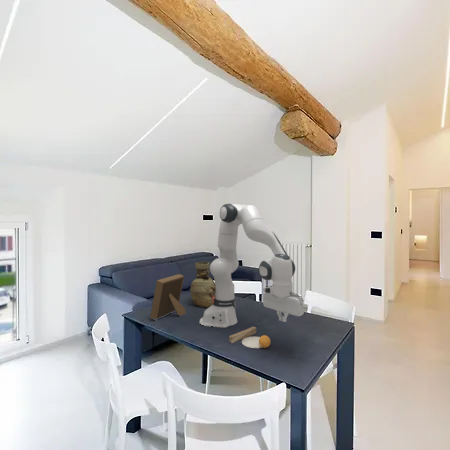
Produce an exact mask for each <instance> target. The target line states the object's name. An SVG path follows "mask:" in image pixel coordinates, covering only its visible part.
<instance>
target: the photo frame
mask: <svg viewBox="0 0 450 450" xmlns="http://www.w3.org/2000/svg"><path fill="white" fill-rule="evenodd" d="M184 279H185V275H182V274H181V273H180V274H179V273H178V274H174V275H171V276H167V277H163V278H160V279H157V280H156V284H155V289H154V294H153V295H154V296H153V300H152V305H151V310H150V311H151V312H150V315H149V316H150V317H149V319H150V318H153V319H157V318H159V317H161V316H164V315H166V314H168V313H170V312H173V311H175V310H176V312H175V313H177V315H183V314H186V308H185V307H184V306H183V304H181V303H180V299H181V295H182V290H183V283H184Z"/></svg>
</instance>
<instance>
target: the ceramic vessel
mask: <svg viewBox="0 0 450 450" xmlns="http://www.w3.org/2000/svg"><path fill="white" fill-rule="evenodd" d="M194 266H195V269H196V270H195V271H196V273H195V275H196V278H194V280H193V281H192V282H191V285H190V290H189V291H190V297H191V300H192V302H193V303H194V305H195V306H197V307H200V308H204V307H206V309H207V308H209V307H210V306H211V305H213V300H212V299H213V297H215V298H216V285H215V280H213V279H214V278H211V277H210V262H209V261H198V262H194Z"/></svg>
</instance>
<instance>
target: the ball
mask: <svg viewBox="0 0 450 450" xmlns="http://www.w3.org/2000/svg"><path fill="white" fill-rule="evenodd" d="M259 337H260V338H259V344H260V346H261V347H262V348H264V349H266V348H269V347H270V345H271V338H270V337H269V336H268V335H265V334H264V335H261V336H259Z"/></svg>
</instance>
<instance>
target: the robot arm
mask: <svg viewBox="0 0 450 450" xmlns="http://www.w3.org/2000/svg"><path fill="white" fill-rule="evenodd" d="M220 207H221V208H220V209H219V218H220V220H221V221H220V224H219V229H218V237H217V248H218V249H219V250H218V251H219V257H218V258H217V257H216V258H215V259H214V260H213V261H212V262H210V264H209V273H211V275H212V276H213V279H214V280H213V281H214V282H215V285H216V293H215V297H216V298H215V297H213V299H212V300H213V305H211V306H210V307H208V308H206V309H205V310H204V312H203V316H202V317H201V318H200V319H199V325H200V324H201V325H204V326H203V327H211V326H213V327H214V328H229V327H230V326H231V327H232V326H234V325H236V324H237V323H238V319H237V318H238V317H237V313H236V298H235V284H234V282H233V279H232V274H233V273H234V272H236V271H237V270H238V267H239V264H240V263H239V260H238V254H237V252H238V251H237V243H238V241H237V240H238V235H239V234H238V233H239V231H238V230H239V226H240V225H242V227H243V231H244V233H245V235H246V237H247V238H248V239H250V240H251V241H254V242H256V243H257V242H258V243H261V244H263V245H266V246H267V247H269V248H270V250H271V251H272V253H273V255H272V257H270V258H269V259H265V260H262V261H261V262H260V264H259V266H258V274H259V276H260V278H262V279H263V280H265V281H272V285H269V286H266V287H264V288H263V296H262V304H263V306H264V307H265V308H266V309H270V310H274V311H276V314H277V316H278V321H280V322H283V323H286V322H287V321H288V320H287V317H289V315H292V316H295V317H301V316H303V315H304V313H305V309H304V298H303V296H302V295H301V294H300V293H296V292H294V291H293V289H294V288H293V281H292V279H293V276H294V275H295V273H296V264H295V262H294V261H293V260H292V258H291V256H290V255H289V254H288V252H287V251H286V250H285V248H284V246H283V245H282V243H281V241H280V240H279V238H278V236H277V235H276V233H275V232H273V231H272V230H271V229H270V228H269V227H268V226H267V224H266V223H265V221H264V218H263V217H262V214H261V213H260V211H259V209H258V208H257V207H256V206H255V205H253V204H244V203H243V204H242V203H226V204H223V205H222V206H220ZM281 312H283V313H281ZM201 325H200V326H201ZM213 327H212V328H213Z"/></svg>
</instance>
